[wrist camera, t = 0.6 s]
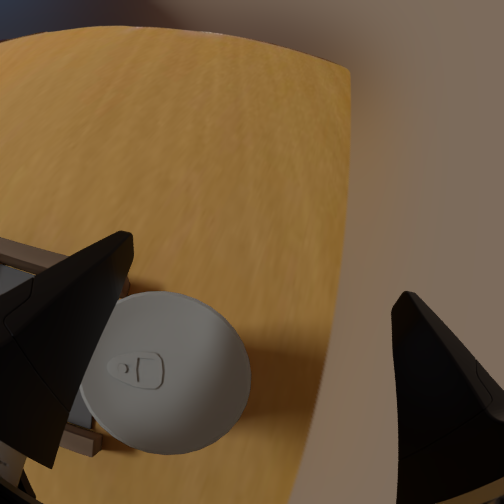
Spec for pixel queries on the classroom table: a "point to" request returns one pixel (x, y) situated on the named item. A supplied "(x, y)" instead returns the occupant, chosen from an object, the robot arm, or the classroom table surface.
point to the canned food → (167, 374)
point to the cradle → (36, 263)
